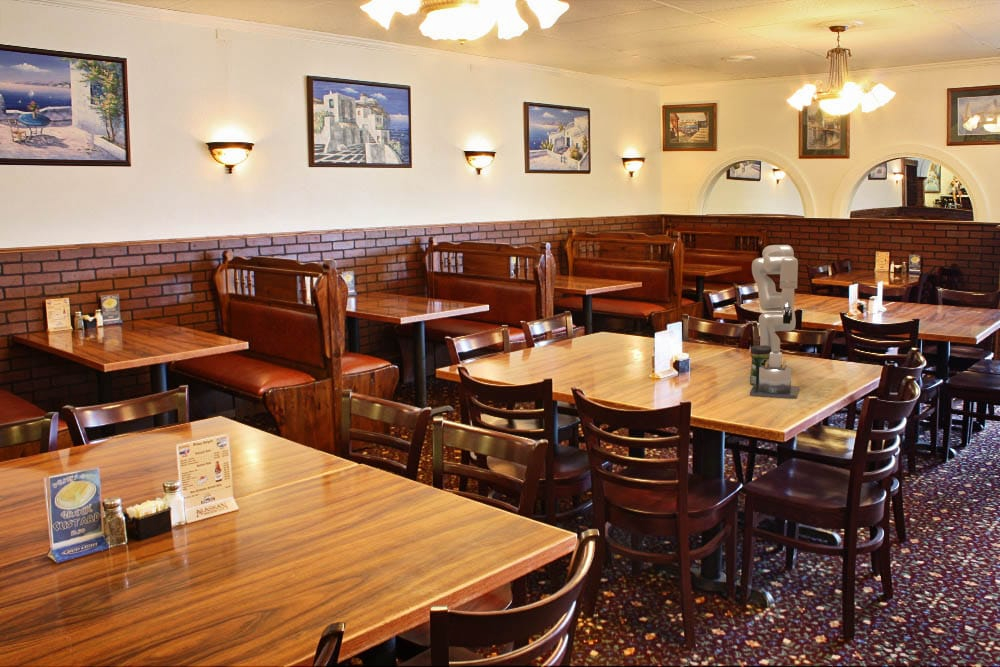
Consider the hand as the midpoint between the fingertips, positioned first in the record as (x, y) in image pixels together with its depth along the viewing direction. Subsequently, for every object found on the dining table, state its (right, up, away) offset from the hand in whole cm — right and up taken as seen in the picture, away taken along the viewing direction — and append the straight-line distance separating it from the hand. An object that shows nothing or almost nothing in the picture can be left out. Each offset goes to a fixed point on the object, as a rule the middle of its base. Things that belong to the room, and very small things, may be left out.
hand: (787, 322), depth 404 cm
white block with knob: (-7, -20, -5) cm, 22 cm away
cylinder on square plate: (-7, -32, -3) cm, 33 cm away
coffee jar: (-8, -30, +16) cm, 34 cm away
